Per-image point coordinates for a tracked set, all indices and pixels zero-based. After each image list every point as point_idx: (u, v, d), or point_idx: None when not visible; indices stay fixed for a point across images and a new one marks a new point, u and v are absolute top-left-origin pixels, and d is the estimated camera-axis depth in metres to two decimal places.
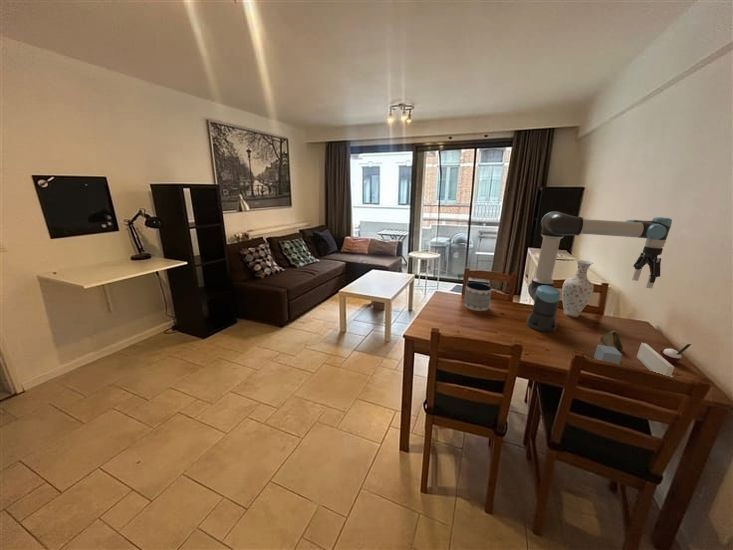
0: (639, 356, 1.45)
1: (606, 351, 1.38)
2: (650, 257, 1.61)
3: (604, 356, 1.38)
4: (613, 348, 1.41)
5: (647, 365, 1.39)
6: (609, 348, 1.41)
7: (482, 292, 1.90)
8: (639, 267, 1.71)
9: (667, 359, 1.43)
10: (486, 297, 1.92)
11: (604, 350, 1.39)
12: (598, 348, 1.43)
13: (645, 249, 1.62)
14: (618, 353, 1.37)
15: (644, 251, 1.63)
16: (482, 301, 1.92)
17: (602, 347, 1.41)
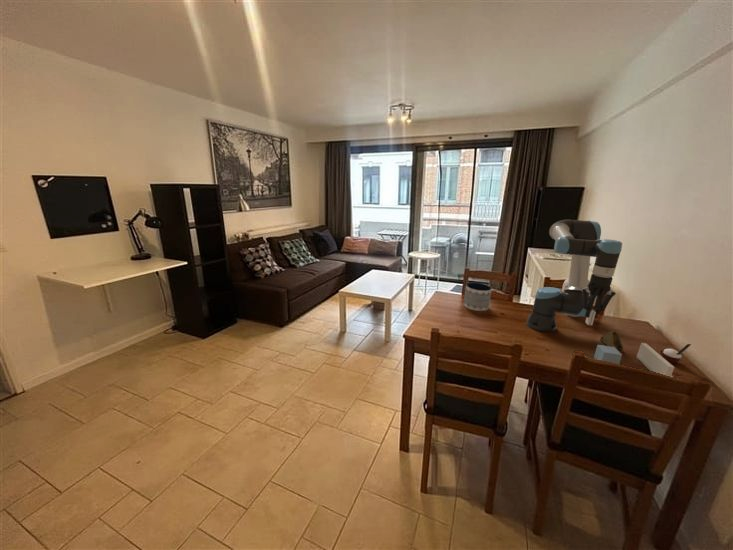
0: (639, 356, 1.45)
1: (606, 351, 1.38)
2: None
3: (604, 356, 1.38)
4: (613, 348, 1.41)
5: (647, 365, 1.39)
6: (609, 348, 1.41)
7: (482, 292, 1.90)
8: (595, 307, 1.36)
9: (667, 359, 1.43)
10: (486, 297, 1.92)
11: (604, 350, 1.39)
12: (598, 348, 1.43)
13: None
14: (618, 353, 1.37)
15: None
16: (482, 301, 1.92)
17: (602, 347, 1.41)
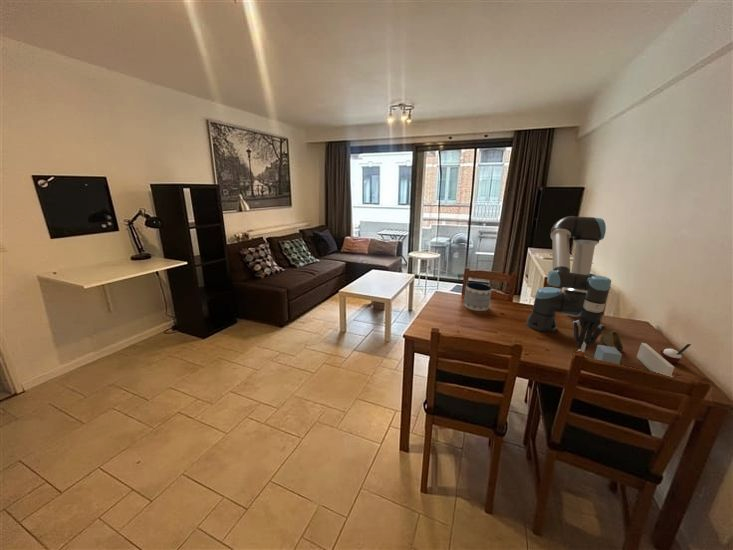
0: (639, 356, 1.45)
1: (606, 351, 1.38)
2: None
3: (604, 356, 1.38)
4: (613, 348, 1.41)
5: (647, 365, 1.39)
6: (609, 348, 1.41)
7: (482, 292, 1.90)
8: (586, 339, 1.41)
9: (667, 359, 1.43)
10: (486, 297, 1.92)
11: (604, 350, 1.39)
12: (598, 348, 1.43)
13: None
14: (618, 353, 1.37)
15: None
16: (482, 301, 1.92)
17: (602, 347, 1.41)
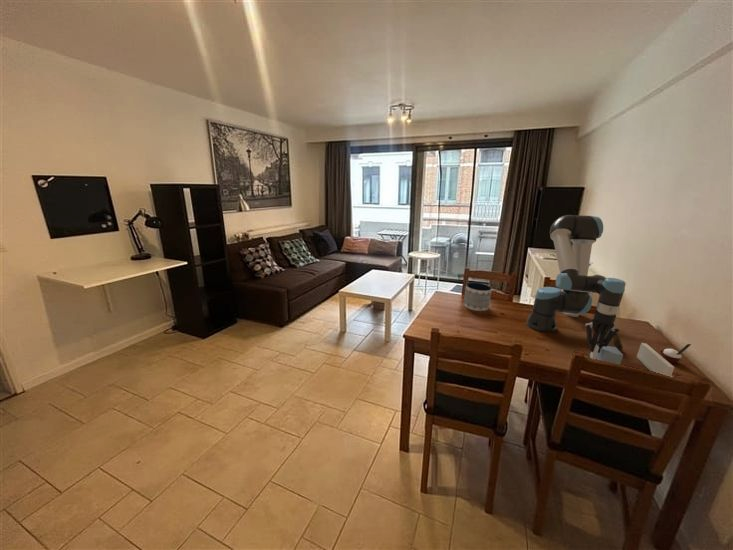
0: (639, 356, 1.45)
1: (607, 351, 1.38)
2: None
3: (605, 356, 1.38)
4: (614, 348, 1.41)
5: (647, 365, 1.39)
6: (611, 348, 1.41)
7: (482, 292, 1.90)
8: (599, 341, 1.40)
9: (667, 359, 1.43)
10: (486, 297, 1.92)
11: (605, 350, 1.38)
12: None
13: None
14: (619, 353, 1.37)
15: None
16: (482, 301, 1.92)
17: (603, 347, 1.41)
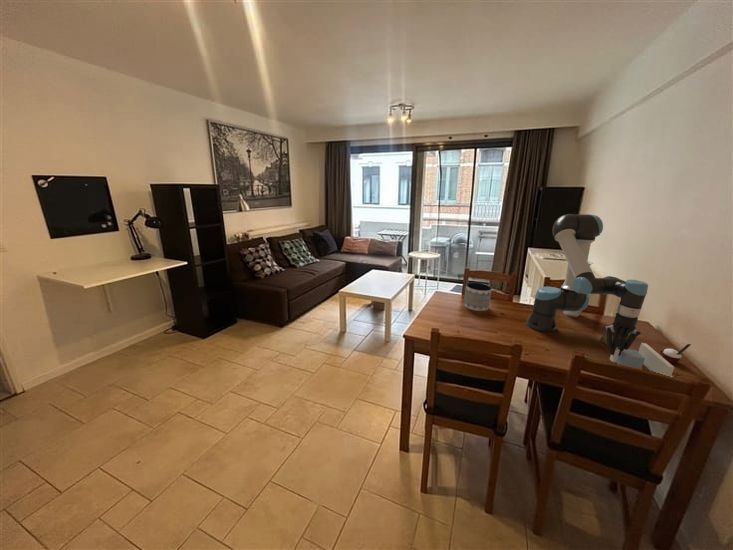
0: None
1: (628, 354, 1.36)
2: None
3: (626, 359, 1.35)
4: (635, 351, 1.38)
5: (647, 365, 1.39)
6: (631, 351, 1.39)
7: (482, 292, 1.90)
8: (619, 344, 1.38)
9: (667, 359, 1.43)
10: (486, 297, 1.92)
11: (626, 354, 1.36)
12: None
13: None
14: (641, 356, 1.34)
15: None
16: (482, 301, 1.92)
17: None
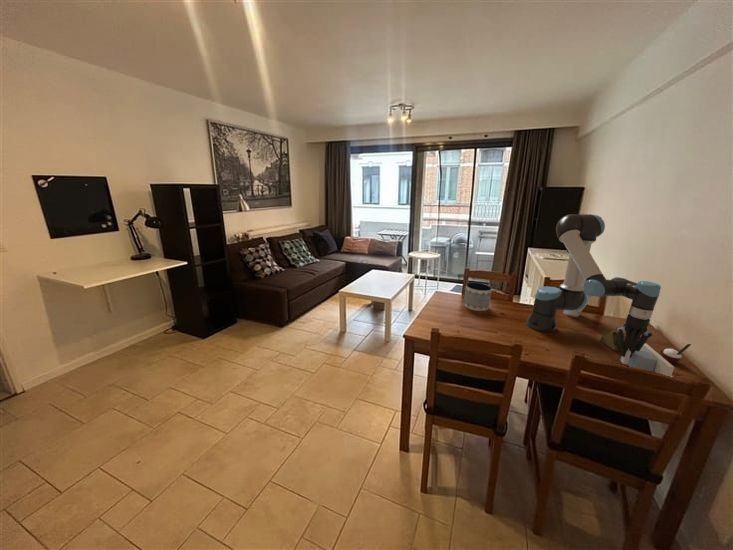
0: None
1: (640, 356, 1.34)
2: None
3: (638, 361, 1.34)
4: (646, 353, 1.37)
5: None
6: (643, 352, 1.38)
7: (482, 292, 1.90)
8: (630, 346, 1.37)
9: (667, 359, 1.43)
10: (486, 297, 1.92)
11: (637, 355, 1.35)
12: None
13: None
14: (653, 358, 1.33)
15: None
16: (482, 301, 1.92)
17: (635, 352, 1.38)
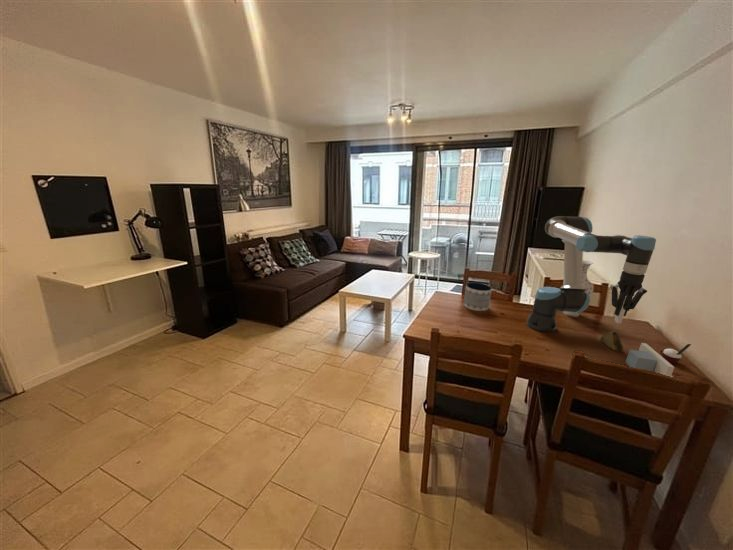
0: None
1: (639, 356, 1.35)
2: None
3: (638, 361, 1.34)
4: (646, 353, 1.37)
5: None
6: (643, 353, 1.38)
7: (482, 292, 1.90)
8: (625, 304, 1.33)
9: (667, 359, 1.43)
10: (486, 297, 1.92)
11: (637, 356, 1.35)
12: (631, 353, 1.39)
13: None
14: (652, 358, 1.33)
15: None
16: (482, 301, 1.92)
17: (635, 352, 1.38)
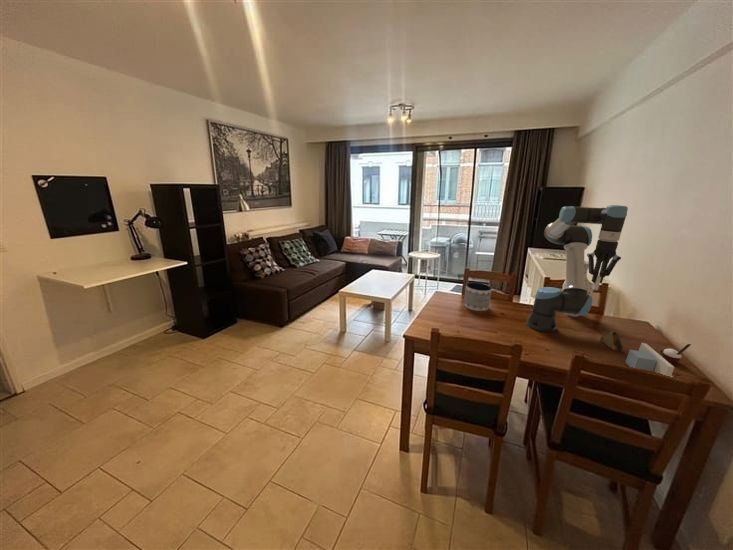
0: None
1: (639, 356, 1.35)
2: None
3: (638, 361, 1.34)
4: (646, 353, 1.37)
5: None
6: (643, 353, 1.38)
7: (482, 292, 1.90)
8: (601, 272, 1.40)
9: (667, 359, 1.43)
10: (486, 297, 1.92)
11: (637, 356, 1.35)
12: (631, 353, 1.39)
13: None
14: (652, 358, 1.33)
15: None
16: (482, 301, 1.92)
17: (635, 352, 1.38)
